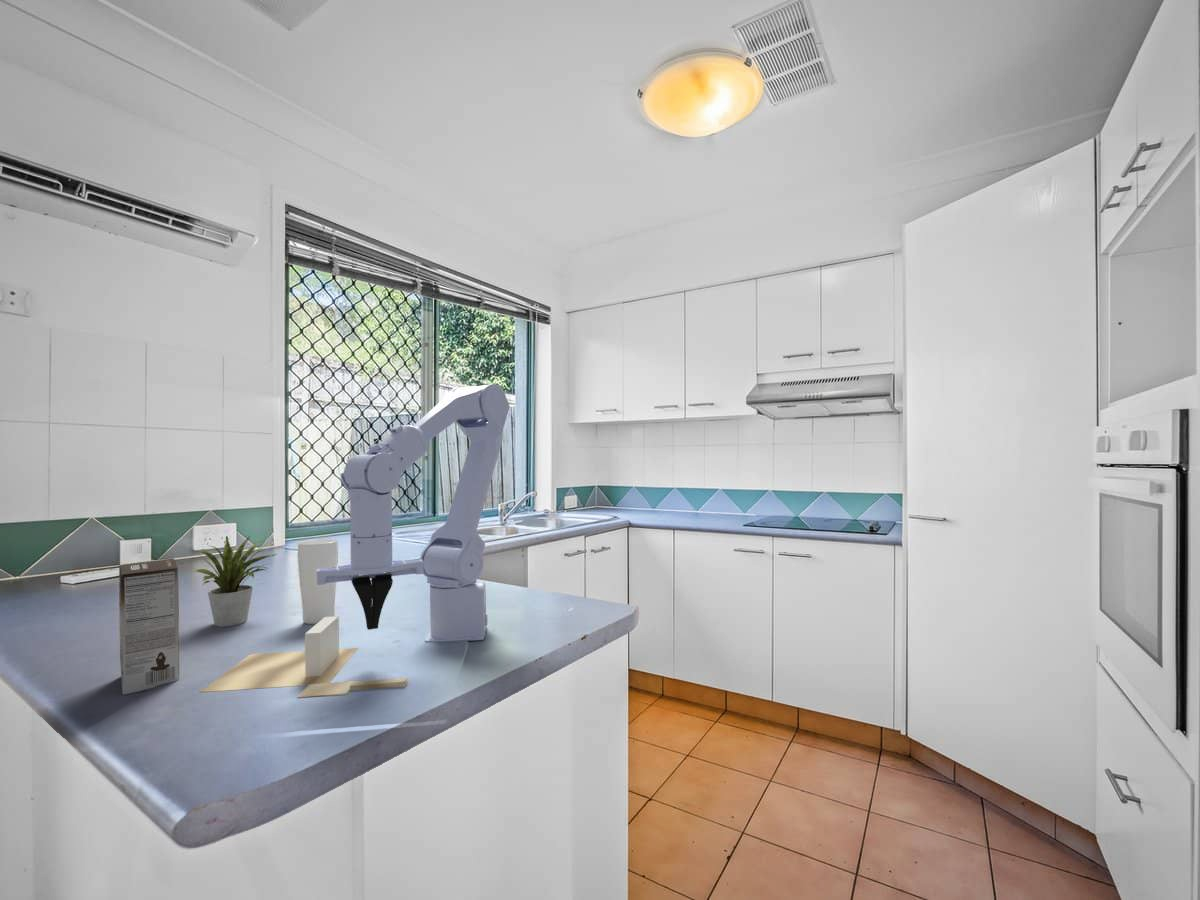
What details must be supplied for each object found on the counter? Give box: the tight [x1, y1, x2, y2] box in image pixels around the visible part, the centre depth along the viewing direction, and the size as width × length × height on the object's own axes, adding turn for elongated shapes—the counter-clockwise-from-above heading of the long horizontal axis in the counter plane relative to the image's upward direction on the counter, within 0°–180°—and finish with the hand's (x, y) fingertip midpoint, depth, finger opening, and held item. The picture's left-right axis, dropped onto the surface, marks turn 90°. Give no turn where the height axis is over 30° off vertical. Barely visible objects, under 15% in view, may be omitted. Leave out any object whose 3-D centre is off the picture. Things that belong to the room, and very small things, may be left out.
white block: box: [304, 616, 340, 677], centre depth 83 cm, size 2×8×6 cm, turn 8°
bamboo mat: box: [199, 647, 359, 693], centre depth 82 cm, size 16×14×1 cm
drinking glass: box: [297, 538, 339, 626], centre depth 106 cm, size 7×7×15 cm
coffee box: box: [118, 558, 180, 696], centre depth 80 cm, size 9×6×16 cm
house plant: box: [193, 535, 278, 628], centre depth 105 cm, size 14×14×16 cm
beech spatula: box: [296, 676, 408, 699], centre depth 75 cm, size 13×4×1 cm, turn 98°
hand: (372, 627), depth 84 cm, fingers closed
